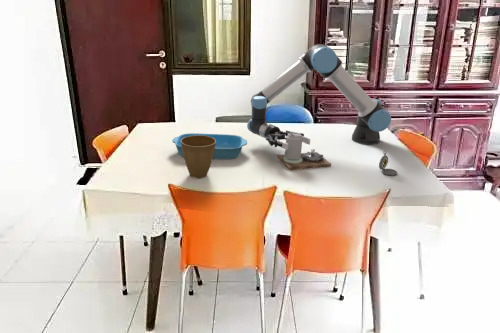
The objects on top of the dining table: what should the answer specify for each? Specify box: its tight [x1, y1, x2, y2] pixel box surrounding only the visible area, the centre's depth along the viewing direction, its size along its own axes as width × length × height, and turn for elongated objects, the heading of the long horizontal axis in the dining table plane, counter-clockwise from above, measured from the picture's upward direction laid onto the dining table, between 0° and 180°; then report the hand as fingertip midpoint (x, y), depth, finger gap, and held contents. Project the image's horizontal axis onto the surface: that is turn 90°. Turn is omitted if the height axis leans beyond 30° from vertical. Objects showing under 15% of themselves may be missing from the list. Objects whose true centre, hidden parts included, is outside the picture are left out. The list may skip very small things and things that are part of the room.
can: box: [284, 131, 303, 160], centre depth 203 cm, size 8×8×12 cm
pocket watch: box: [378, 151, 398, 176], centre depth 196 cm, size 8×8×10 cm
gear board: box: [276, 151, 332, 171], centre depth 207 cm, size 21×16×2 cm
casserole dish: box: [172, 132, 248, 160], centre depth 215 cm, size 37×22×7 cm, turn 90°
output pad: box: [283, 156, 303, 164], centre depth 205 cm, size 9×9×1 cm
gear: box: [301, 148, 325, 163], centre depth 207 cm, size 11×11×5 cm
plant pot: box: [181, 135, 216, 179], centre depth 187 cm, size 15×15×16 cm
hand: (298, 144), depth 199 cm, fingers open, 13 cm apart
